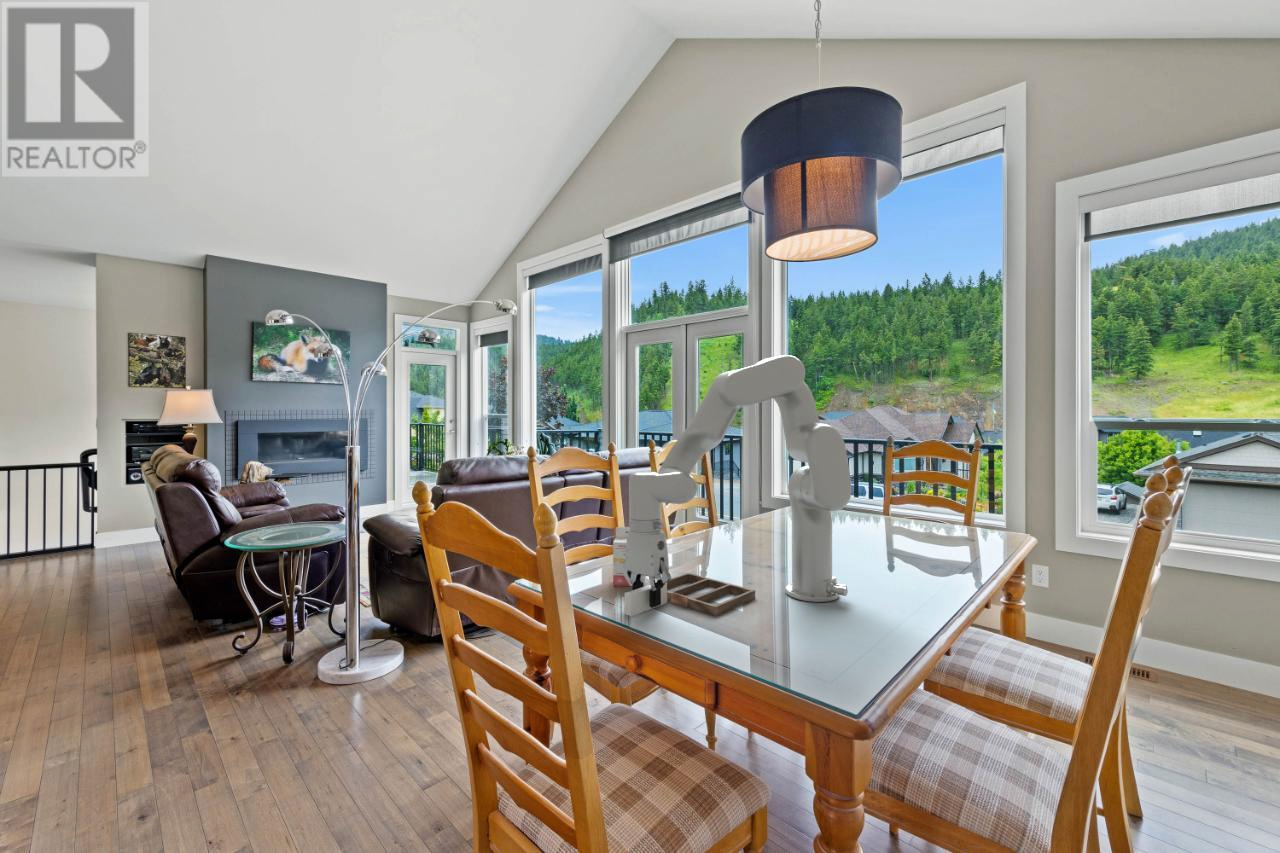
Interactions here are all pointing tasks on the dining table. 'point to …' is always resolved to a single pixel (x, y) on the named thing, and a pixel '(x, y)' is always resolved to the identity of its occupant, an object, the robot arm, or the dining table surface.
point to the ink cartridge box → (621, 559)
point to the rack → (706, 593)
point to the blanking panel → (641, 600)
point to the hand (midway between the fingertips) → (646, 602)
